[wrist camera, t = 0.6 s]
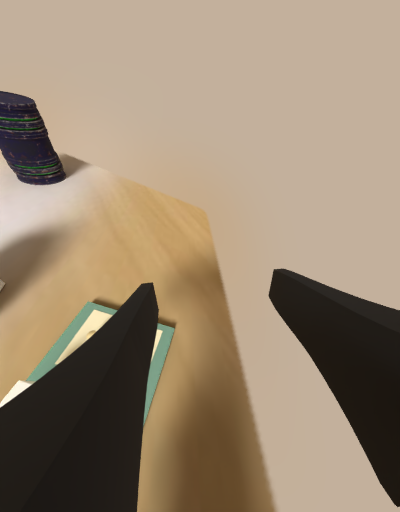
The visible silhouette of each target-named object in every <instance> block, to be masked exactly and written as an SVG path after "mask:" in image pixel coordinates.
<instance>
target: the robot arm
mask: <svg viewBox="0 0 400 512" xmlns="http://www.w3.org/2000/svg"><path fill="white" fill-rule="evenodd" d="M269 298H270V299H271V302H272V303H273V305H274V307H275V309H276V310H277V312H278V313H279V315H280V316H281V317H282V319H283V320H284V321H285V323H286V324H287V325H288V327H289V328H290V329H291V331H292V332H293V333H294V334H295V336H296V337H297V339H298V340H299V341H300V342H301V344H302V345H303V346H304V348H305V349H306V351H307V352H308V353H309V355H310V357H311V358H312V360H313V361H314V363H315V365H316V366H317V368H318V369H319V371H320V372H321V374H322V376H323V377H324V379H325V381H326V382H327V384H328V386H329V388H330V389H331V391H332V393H333V394H334V396H335V398H336V399H337V401H338V403H339V405H340V407H341V408H342V410H343V412H344V414H345V416H346V417H347V419H348V421H349V423H350V425H351V427H352V428H353V430H354V432H355V434H356V436H357V438H358V440H359V442H360V444H361V446H362V448H363V450H364V451H365V453H366V455H367V457H368V459H369V461H370V463H371V465H372V467H373V469H374V471H375V473H376V475H377V478H378V480H379V482H380V484H381V485H382V486H383V488H384V489H385V491H386V492H387V494H388V495H389V497H390V498H391V500H392V501H393V503H394V504H395V505H396V506H397V507H400V310H396V309H393V308H389V307H386V306H383V305H380V304H377V303H374V302H371V301H367V300H364V299H361V298H358V297H355V296H353V295H350V294H348V293H345V292H342V291H339V290H337V289H334V288H332V287H329V286H326V285H324V284H322V283H319V282H317V281H314V280H312V279H309V278H307V277H305V276H302V275H300V274H297V273H295V272H292V271H289V270H286V269H274V271H273V277H272V282H271V286H270V291H269ZM158 312H159V309H158V305H157V300H156V295H155V290H154V285H153V283H144V284H141V285H140V286H139V287H138V288H137V290H136V291H135V292H134V293H133V294H132V295H131V296H130V297H129V299H128V300H127V301H126V302H125V303H124V304H123V305H122V306H121V307H120V308H119V310H118V311H117V312H116V313H115V314H114V315H113V316H112V317H111V318H110V319H109V320H108V321H107V322H106V323H105V324H104V325H103V326H102V327H101V328H100V329H99V330H98V331H96V332H95V333H94V334H93V335H92V336H91V337H90V338H89V339H88V340H86V341H85V342H84V343H83V344H82V345H81V346H80V347H78V348H77V349H76V350H75V351H74V352H73V353H71V354H70V355H69V356H68V357H66V358H65V359H64V360H63V361H61V362H60V363H59V364H57V365H56V366H55V367H54V368H52V369H51V370H50V371H49V372H47V373H46V374H45V375H44V376H42V377H41V378H40V379H38V380H37V381H36V382H34V383H33V384H32V385H30V386H29V387H28V388H26V389H25V390H24V391H22V392H21V393H20V394H18V395H17V396H15V397H14V398H13V399H11V400H10V401H9V402H7V403H6V404H4V405H3V406H2V407H0V512H137V501H138V486H139V472H140V459H141V446H142V434H143V423H144V412H145V402H146V392H147V383H148V376H149V370H150V365H151V359H152V354H153V349H154V343H155V338H156V333H157V326H158Z"/></svg>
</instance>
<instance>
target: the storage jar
mask: <svg viewBox="0 0 400 512" xmlns="http://www.w3.org/2000/svg"><path fill="white" fill-rule="evenodd" d="M0 149H1V151H2V155H3V156H4V158H5V159H6V161H7V163H8V165H9V166H10V168H11V169H12V170H13V171H14V173H16V174H17V177H18V179H19V180H20V181H22V182H24V183H27V184H32V185H50V184H55V183H58V182H61V181H63V180H64V179H65V178H66V174H65V172H64V171H63V167H62V164H61V161H60V160H59V157H58V155H57V153H56V152H55V151H54V149H53V146H52V144H51V142H50V140H49V137H48V132H47V129H46V127H45V125H44V121H43V119H42V117H41V116H40V113H39V111H38V110H37V108H36V104H35V102H34V100H33V99H31V98H29V97H26V96H22V95H18V94H14V93H9V92H3V91H0Z"/></svg>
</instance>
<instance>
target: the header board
mask: <svg viewBox="0 0 400 512" xmlns="http://www.w3.org/2000/svg"><path fill="white" fill-rule="evenodd" d="M116 312H117V310H114V309H111V308H108V307H104V306H101V305H98V304H95V303H92V302H87V303H86V305H85V306H84V307H83V309H82V310H81V311H80V312H79V314H78V315H77V316H76V317H75V319H74V320H73V321H72V323H71V324H70V325H69V326H68V328H67V329H66V330H65V331H64V333H63V334H62V335H61V337H60V338H59V339H58V340H57V342H56V343H55V344H54V345H53V347H52V348H51V349H50V351H49V352H48V353H47V354H46V356H45V357H44V358H43V359H42V361H41V362H40V363H39V365H38V366H37V367H36V368H35V370H34V371H33V372H32V373H31V375H30V376H29V377H28V379H27V380H26V381H37V380H38V379H40V378H41V377H42V376H44V375H45V374H46V373H47V372H49V371H50V370H51V369H52V368H54V367H55V366H56V365H57V364H59V363H60V362H61V361H63V360H64V359H65V358H66V357H68V356H69V355H70V354H71V353H73V352H74V351H75V350H76V349H77V348H78V347H80V346H81V345H82V344H83V343H84V342H85V341H86V340H88V339H89V338H90V337H91V336H92V335H93V334H94V333H95V332H96V331H98V330H99V329H100V328H101V327H102V326H103V325H104V324H105V323H106V322H107V321H108V320H109V319H110V318H111V317H112V316H113V315H114V314H115V313H116ZM174 330H175V328H172V327H169V326H165V325H162V324H159V323H158V326H157V333H156V338H155V343H154V349H153V354H152V359H151V365H150V370H149V376H148V383H147V392H146V402H145V412H144V423H145V420H146V417H147V414H148V411H149V408H150V404H151V401H152V398H153V395H154V392H155V389H156V386H157V383H158V380H159V376H160V373H161V370H162V367H163V364H164V361H165V358H166V355H167V352H168V348H169V345H170V342H171V339H172V336H173V333H174ZM144 423H143V426H144Z"/></svg>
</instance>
